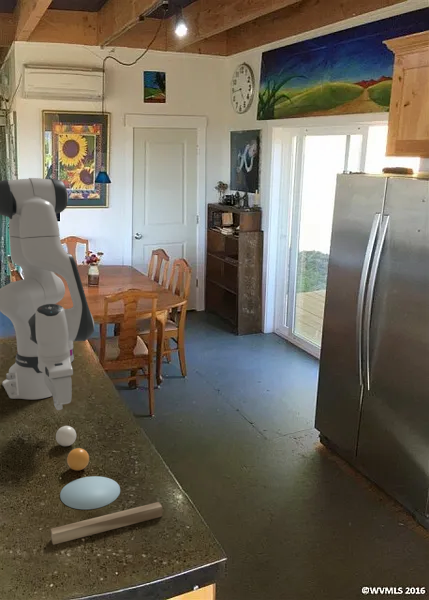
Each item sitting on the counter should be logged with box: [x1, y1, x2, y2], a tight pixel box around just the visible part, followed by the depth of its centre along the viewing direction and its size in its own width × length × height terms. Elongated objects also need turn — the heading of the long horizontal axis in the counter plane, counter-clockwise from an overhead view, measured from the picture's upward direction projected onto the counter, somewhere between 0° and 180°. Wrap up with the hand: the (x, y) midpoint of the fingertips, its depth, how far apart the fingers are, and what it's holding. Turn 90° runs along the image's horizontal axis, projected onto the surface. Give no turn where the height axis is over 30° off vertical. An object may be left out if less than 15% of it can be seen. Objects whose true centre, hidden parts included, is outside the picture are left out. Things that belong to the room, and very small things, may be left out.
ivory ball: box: [55, 425, 77, 447], centre depth 165 cm, size 6×6×6 cm
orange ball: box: [66, 447, 90, 471], centre depth 152 cm, size 6×6×6 cm
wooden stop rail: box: [50, 501, 163, 545], centre depth 129 cm, size 2×24×2 cm, turn 116°
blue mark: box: [59, 475, 121, 510], centre depth 143 cm, size 14×14×1 cm
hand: (58, 408), depth 172 cm, fingers closed
